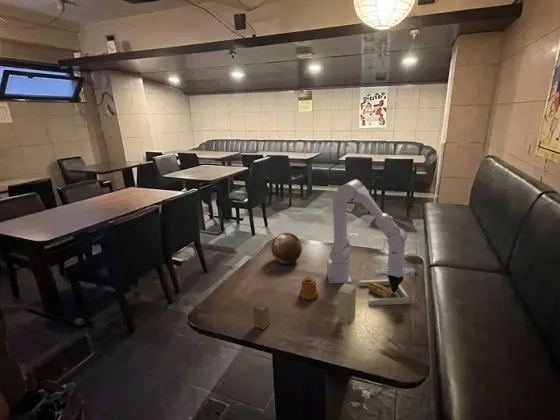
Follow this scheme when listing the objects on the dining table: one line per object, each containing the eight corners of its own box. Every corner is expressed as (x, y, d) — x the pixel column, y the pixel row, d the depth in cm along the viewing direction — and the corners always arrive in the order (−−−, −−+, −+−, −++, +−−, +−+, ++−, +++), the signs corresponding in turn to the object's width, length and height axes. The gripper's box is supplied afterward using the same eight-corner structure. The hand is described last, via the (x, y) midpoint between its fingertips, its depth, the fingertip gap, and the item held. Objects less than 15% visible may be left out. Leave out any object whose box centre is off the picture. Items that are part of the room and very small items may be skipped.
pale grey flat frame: (369, 305, 114) (369, 300, 114) (359, 284, 128) (359, 280, 127) (409, 303, 114) (410, 298, 113) (395, 283, 128) (396, 279, 127)
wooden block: (261, 320, 109) (260, 301, 107) (270, 324, 107) (268, 305, 104) (254, 326, 106) (252, 306, 104) (262, 330, 104) (261, 310, 101)
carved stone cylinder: (367, 291, 123) (368, 282, 122) (374, 287, 126) (374, 279, 124) (384, 300, 117) (385, 291, 116) (391, 296, 119) (392, 287, 118)
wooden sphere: (266, 264, 149) (264, 236, 145) (283, 252, 161) (281, 226, 156) (291, 272, 141) (290, 242, 136) (307, 259, 153) (307, 231, 148)
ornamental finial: (321, 298, 120) (303, 302, 118) (314, 289, 127) (297, 292, 125) (321, 281, 117) (302, 284, 116) (313, 272, 124) (296, 275, 122)
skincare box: (349, 325, 104) (350, 294, 101) (337, 321, 106) (337, 291, 103) (355, 315, 109) (356, 285, 106) (343, 311, 112) (344, 282, 108)
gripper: (380, 266, 113) (378, 297, 117) (419, 264, 113) (416, 295, 117) (374, 257, 120) (373, 287, 124) (411, 255, 119) (408, 286, 123)
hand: (393, 291), depth 121 cm, fingers closed
